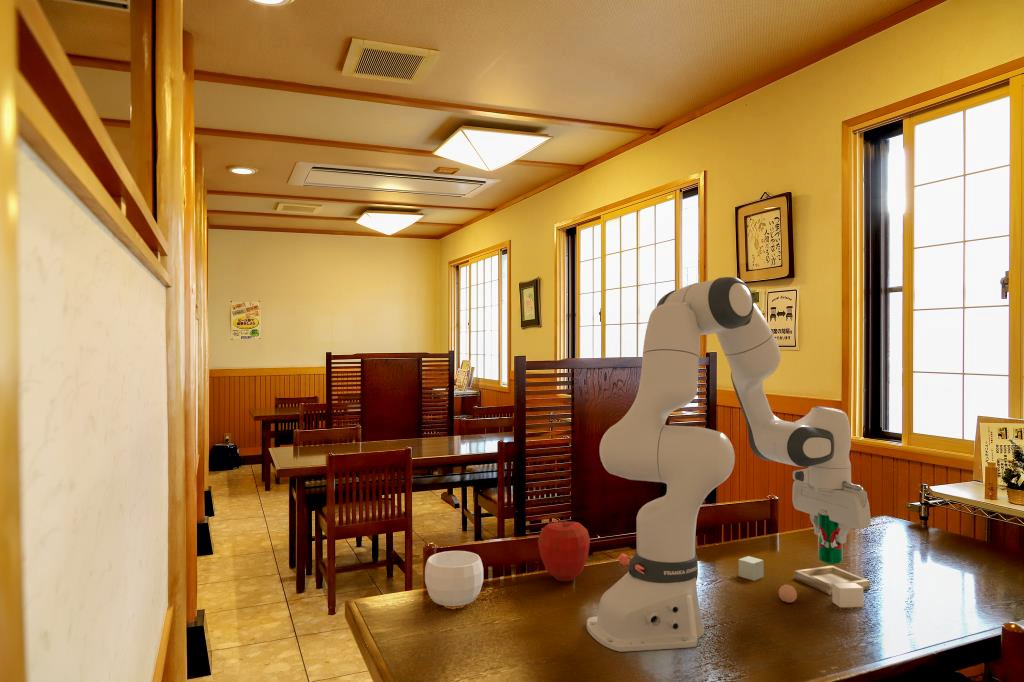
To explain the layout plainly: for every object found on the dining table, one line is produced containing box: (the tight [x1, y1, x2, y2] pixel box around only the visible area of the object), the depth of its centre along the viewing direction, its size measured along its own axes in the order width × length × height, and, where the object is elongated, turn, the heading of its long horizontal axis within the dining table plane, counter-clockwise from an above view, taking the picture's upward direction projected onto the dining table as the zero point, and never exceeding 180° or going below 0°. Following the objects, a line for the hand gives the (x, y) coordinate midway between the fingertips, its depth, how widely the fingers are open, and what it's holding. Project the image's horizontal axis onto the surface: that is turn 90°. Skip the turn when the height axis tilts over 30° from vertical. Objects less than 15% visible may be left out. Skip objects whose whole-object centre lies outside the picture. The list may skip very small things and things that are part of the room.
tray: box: [793, 565, 871, 596], centre depth 156 cm, size 11×11×2 cm
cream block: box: [831, 583, 864, 608], centre depth 143 cm, size 5×3×4 cm, turn 93°
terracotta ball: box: [778, 584, 798, 604], centre depth 145 cm, size 4×4×4 cm
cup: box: [424, 550, 484, 607], centre depth 145 cm, size 12×12×10 cm
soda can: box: [817, 509, 844, 566], centre depth 156 cm, size 5×5×12 cm
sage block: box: [738, 555, 765, 581], centre depth 161 cm, size 4×4×4 cm
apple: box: [537, 518, 591, 582], centre depth 160 cm, size 12×12×14 cm
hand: (829, 538), depth 156 cm, fingers closed on soda can, 5 cm apart
